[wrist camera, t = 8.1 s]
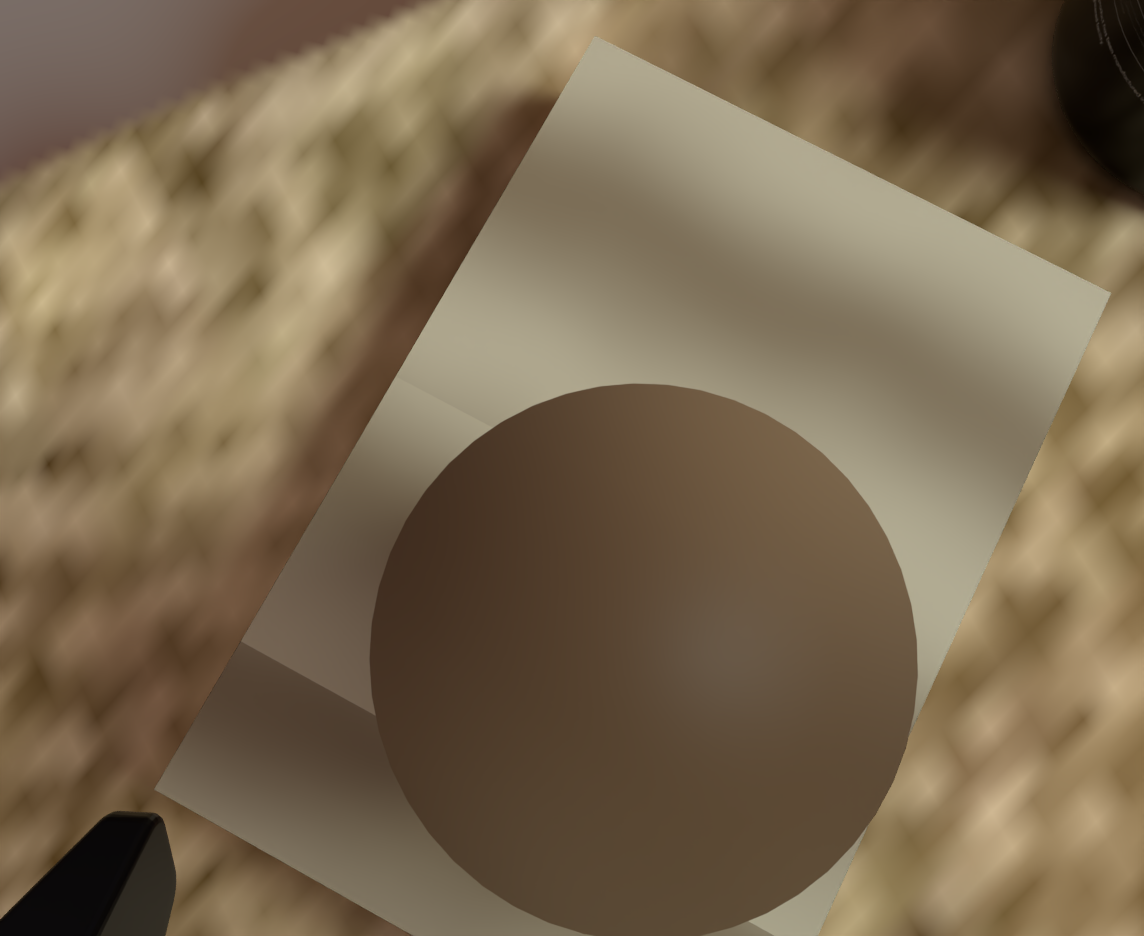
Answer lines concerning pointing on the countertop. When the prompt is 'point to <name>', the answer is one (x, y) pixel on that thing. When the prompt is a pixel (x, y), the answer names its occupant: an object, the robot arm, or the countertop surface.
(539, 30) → the countertop surface
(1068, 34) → the supplement bottle
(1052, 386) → the board
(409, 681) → the walnut peg
